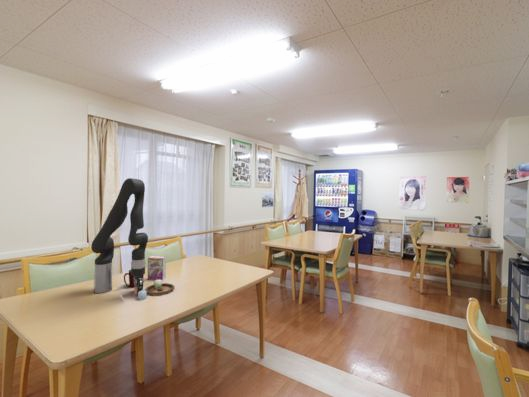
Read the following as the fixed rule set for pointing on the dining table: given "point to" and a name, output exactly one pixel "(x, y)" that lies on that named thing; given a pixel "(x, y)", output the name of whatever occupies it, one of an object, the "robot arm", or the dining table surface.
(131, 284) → the mug
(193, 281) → the dining table surface
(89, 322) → the dining table surface
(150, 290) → the groove tray
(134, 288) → the bead terracotta
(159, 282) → the bead sage
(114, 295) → the dining table surface
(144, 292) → the bead blue
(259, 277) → the dining table surface
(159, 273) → the candy bar box
